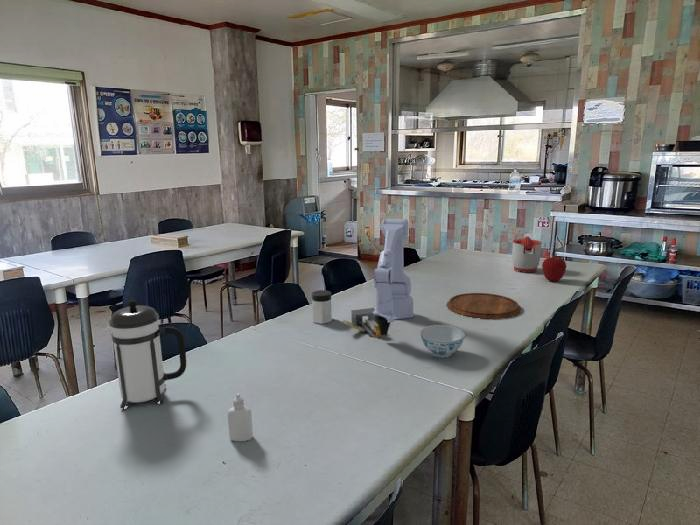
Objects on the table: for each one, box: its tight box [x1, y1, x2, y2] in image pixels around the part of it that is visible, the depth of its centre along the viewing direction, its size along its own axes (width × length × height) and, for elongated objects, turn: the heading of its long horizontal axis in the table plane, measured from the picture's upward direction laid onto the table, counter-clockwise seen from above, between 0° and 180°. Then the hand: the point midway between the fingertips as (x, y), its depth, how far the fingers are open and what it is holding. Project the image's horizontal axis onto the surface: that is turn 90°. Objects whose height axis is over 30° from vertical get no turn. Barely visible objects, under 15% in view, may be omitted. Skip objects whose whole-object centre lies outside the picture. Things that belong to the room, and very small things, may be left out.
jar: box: [311, 289, 333, 325], centre depth 202 cm, size 9×8×12 cm
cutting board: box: [446, 292, 522, 320], centre depth 216 cm, size 32×32×2 cm
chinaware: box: [420, 324, 466, 358], centre depth 168 cm, size 15×15×8 cm
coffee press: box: [104, 299, 187, 410], centre depth 139 cm, size 17×16×30 cm
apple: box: [541, 256, 567, 282], centre depth 255 cm, size 12×12×13 cm
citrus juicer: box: [511, 235, 543, 273], centre depth 276 cm, size 16×17×20 cm
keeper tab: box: [342, 319, 367, 334], centre depth 189 cm, size 9×4×1 cm, turn 108°
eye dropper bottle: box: [227, 393, 254, 442], centre depth 120 cm, size 4×6×12 cm
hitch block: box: [350, 307, 378, 338], centre depth 194 cm, size 10×18×5 cm, turn 17°
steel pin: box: [364, 319, 384, 339], centre depth 189 cm, size 3×12×5 cm, turn 17°
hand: (383, 334), depth 180 cm, fingers closed
